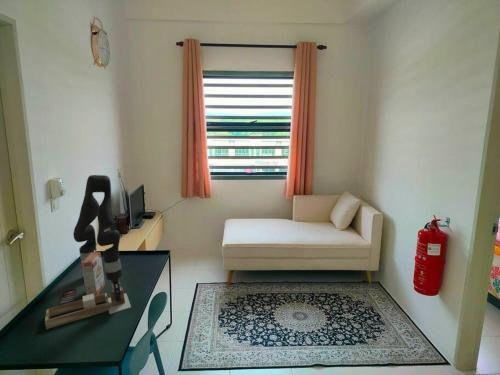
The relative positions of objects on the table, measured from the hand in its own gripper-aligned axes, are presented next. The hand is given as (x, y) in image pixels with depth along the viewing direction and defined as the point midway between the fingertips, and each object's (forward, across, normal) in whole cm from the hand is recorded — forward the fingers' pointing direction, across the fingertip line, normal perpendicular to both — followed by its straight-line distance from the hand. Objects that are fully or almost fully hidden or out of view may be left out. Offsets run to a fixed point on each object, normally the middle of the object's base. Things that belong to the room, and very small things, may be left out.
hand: (117, 297), depth 160 cm
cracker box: (+4, +21, +9) cm, 23 cm away
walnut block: (+3, 0, 0) cm, 3 cm away
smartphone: (+4, +24, +23) cm, 33 cm away
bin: (+3, +2, +18) cm, 18 cm away
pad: (+3, 0, 0) cm, 3 cm away
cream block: (+3, +2, +13) cm, 14 cm away
